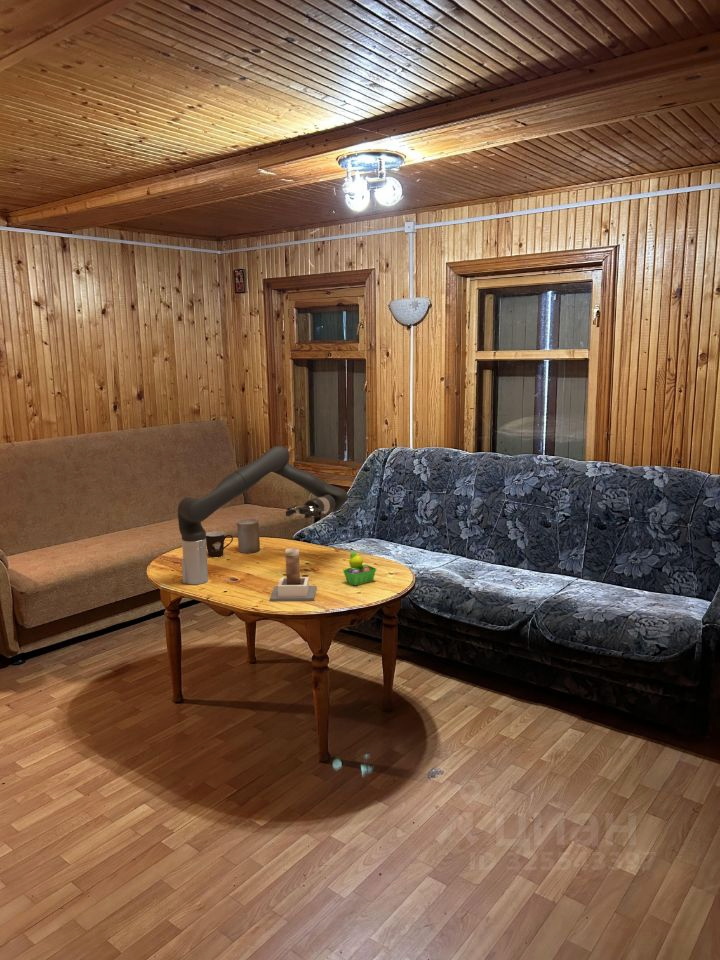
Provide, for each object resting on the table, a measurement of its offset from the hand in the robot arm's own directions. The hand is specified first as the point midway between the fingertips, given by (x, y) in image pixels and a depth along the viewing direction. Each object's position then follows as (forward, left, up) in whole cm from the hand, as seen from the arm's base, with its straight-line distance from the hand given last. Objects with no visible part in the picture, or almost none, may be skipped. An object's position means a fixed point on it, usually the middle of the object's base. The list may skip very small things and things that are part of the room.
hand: (296, 514), depth 283 cm
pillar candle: (-26, +43, -26) cm, 57 cm away
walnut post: (0, -18, -25) cm, 31 cm away
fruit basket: (+24, -3, -26) cm, 36 cm away
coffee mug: (-38, +35, -26) cm, 58 cm away
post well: (0, -18, -26) cm, 32 cm away
